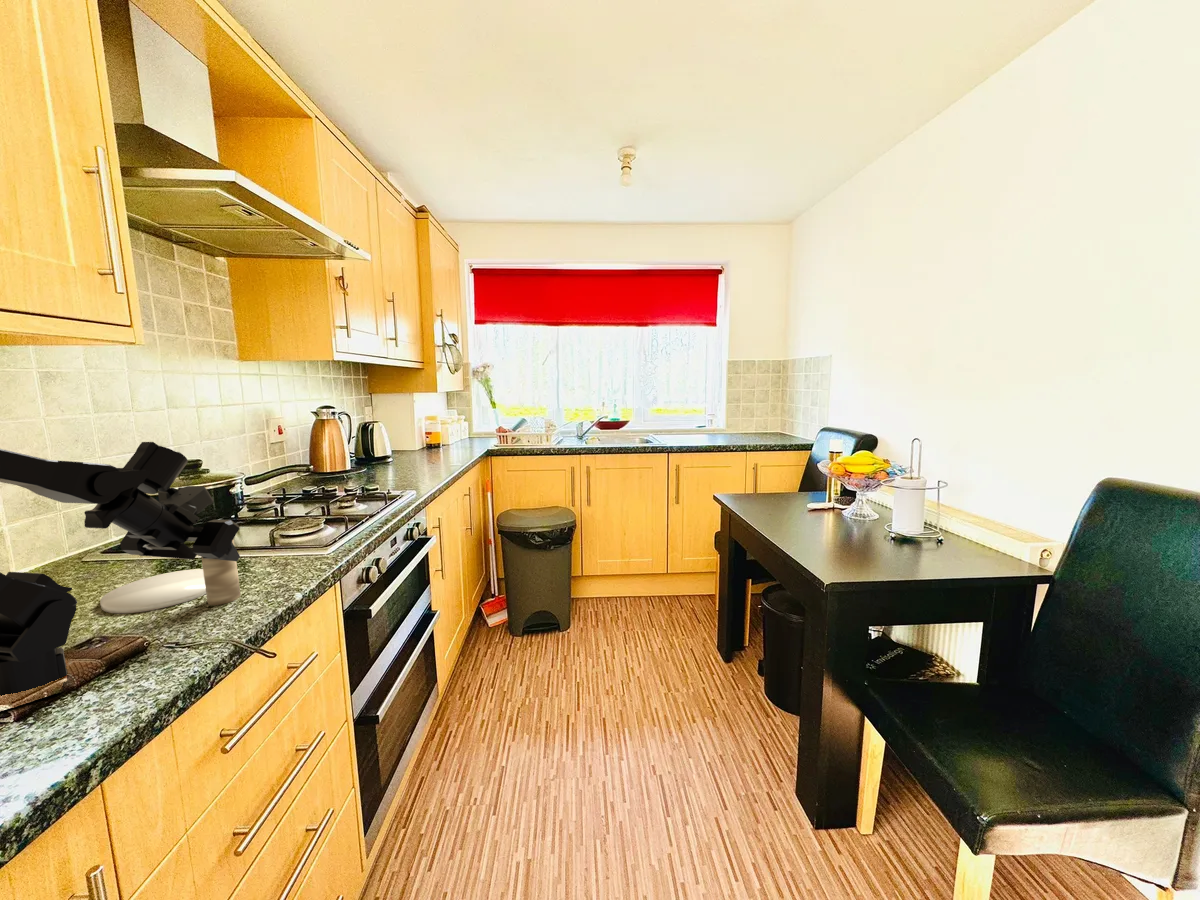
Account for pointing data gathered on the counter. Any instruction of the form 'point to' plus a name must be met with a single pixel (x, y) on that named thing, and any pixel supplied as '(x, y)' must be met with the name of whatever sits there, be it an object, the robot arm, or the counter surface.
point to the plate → (155, 592)
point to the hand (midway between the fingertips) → (216, 557)
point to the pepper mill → (221, 581)
